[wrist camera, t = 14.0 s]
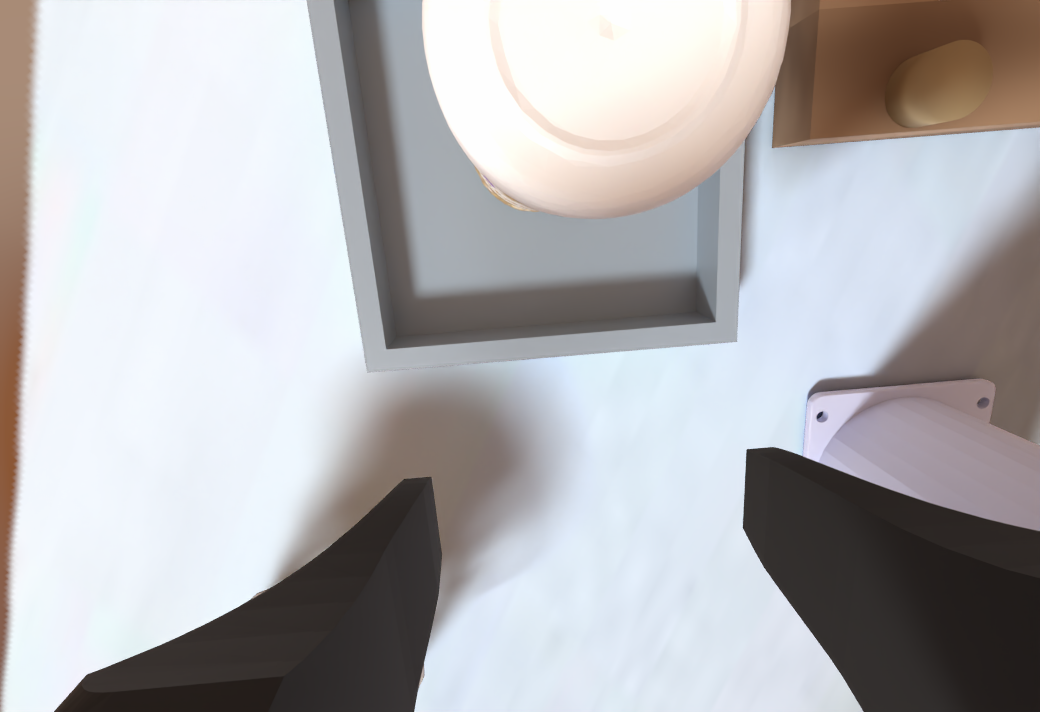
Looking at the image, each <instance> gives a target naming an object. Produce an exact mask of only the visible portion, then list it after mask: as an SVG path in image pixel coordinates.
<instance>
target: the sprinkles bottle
mask: <svg viewBox="0 0 1040 712" xmlns="http://www.w3.org/2000/svg"><path fill="white" fill-rule="evenodd" d="M790 15H791V0H422V31H423V41H424V50H425V55H426V60H427V65H428V70H429V74H430V78H431V81H432V84H433V88H434V91H435V94H436V97H437V100H438V102H439V105H440V108H441V110H442V112H443V115H444V117H445V119H446V121H447V124H448V126H449V128H450V130H451V132H452V133H453V135H454V137H455V139H456V140H457V142H458V143H459V145H460V146H461V148H462V149H463V151H464V152H465V154H466V155H467V157H468V158H469V159H470V161H471V162H472V163H473V164H474V166H475V169H476V171H477V173H478V175H479V177H480V178H481V181H482V183H483V184H484V185H485V187H486V188H487V189H488V190H489V192H490V193H491V194H492V195H494V196H495V197H496V198H497V199H498V200H500V201H501V202H503V203H504V204H506V205H508V206H510V207H512V208H514V209H517V210H521V211H531V212H539V211H541V212H545V213H548V214H552V215H557V216H562V217H568V218H580V219H607V218H617V217H624V216H629V215H634V214H638V213H642V212H645V211H648V210H651V209H654V208H657V207H660V206H662V205H665V204H667V203H669V202H672V201H674V200H676V199H677V198H679V197H681V196H683V195H685V194H686V193H688V192H689V191H691V190H692V189H694V188H695V187H697V186H698V185H700V184H701V183H702V182H704V181H705V180H706V179H708V178H709V177H710V176H712V175H713V174H714V173H715V172H716V171H717V170H718V169H719V168H720V167H721V166H723V165H724V164H725V163H726V162H727V160H728V159H729V158H730V157H731V156H732V155H733V154H734V153H735V152H736V150H737V149H738V148H739V147H740V145H741V144H742V143H743V142H744V140H745V139H746V137H747V136H748V134H749V133H750V131H751V130H752V128H753V127H754V125H755V123H756V122H757V120H758V118H759V117H760V115H761V113H762V111H763V109H764V107H765V105H766V103H767V101H768V100H769V98H770V96H771V94H772V92H773V89H774V86H775V84H776V81H777V78H778V74H779V70H780V66H781V64H782V62H783V58H784V53H785V48H786V42H787V37H788V31H789V23H790Z"/></svg>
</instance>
